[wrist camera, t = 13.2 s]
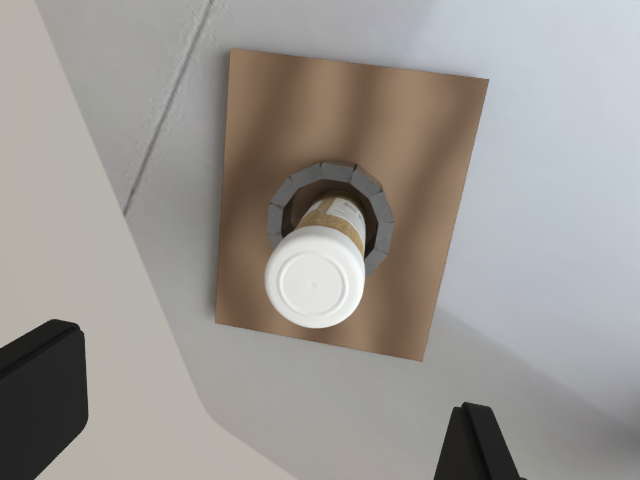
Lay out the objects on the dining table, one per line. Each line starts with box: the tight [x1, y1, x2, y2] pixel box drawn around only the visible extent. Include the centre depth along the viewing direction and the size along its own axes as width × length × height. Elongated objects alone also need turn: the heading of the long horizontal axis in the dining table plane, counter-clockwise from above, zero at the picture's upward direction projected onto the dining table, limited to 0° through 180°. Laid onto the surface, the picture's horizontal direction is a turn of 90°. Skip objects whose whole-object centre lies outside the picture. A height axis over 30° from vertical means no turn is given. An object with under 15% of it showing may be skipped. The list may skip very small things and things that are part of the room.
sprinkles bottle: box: [264, 190, 367, 328], centre depth 23 cm, size 5×5×14 cm
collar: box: [267, 159, 394, 278], centre depth 28 cm, size 9×9×4 cm
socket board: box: [215, 48, 489, 362], centre depth 31 cm, size 18×22×2 cm
